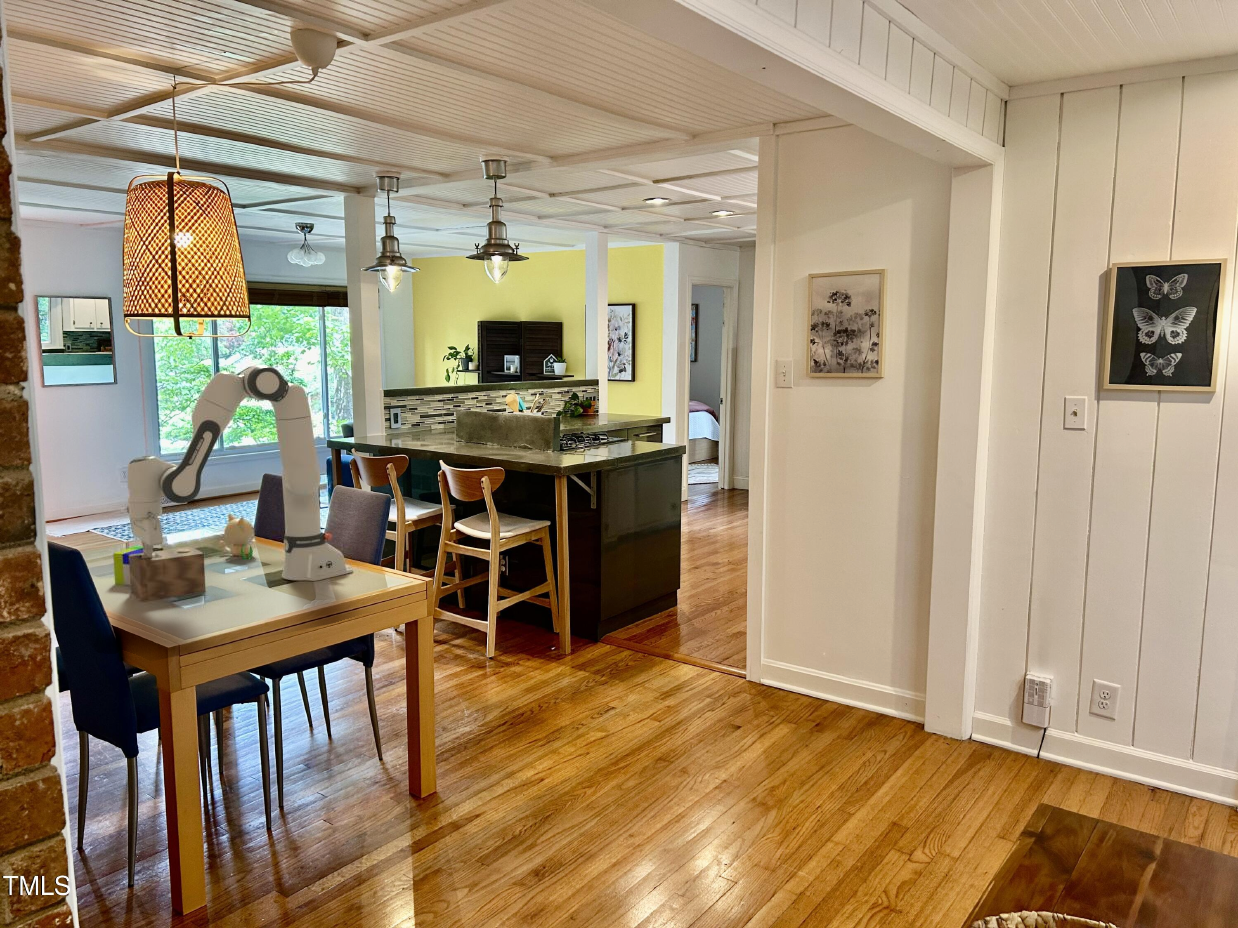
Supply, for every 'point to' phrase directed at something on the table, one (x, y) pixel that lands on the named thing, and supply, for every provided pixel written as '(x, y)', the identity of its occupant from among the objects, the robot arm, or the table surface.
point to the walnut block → (167, 573)
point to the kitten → (238, 537)
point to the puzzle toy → (125, 564)
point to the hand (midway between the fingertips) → (148, 554)
